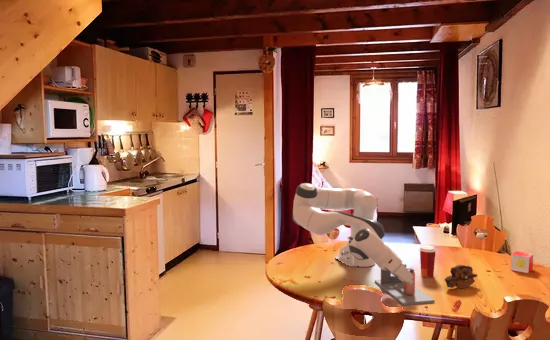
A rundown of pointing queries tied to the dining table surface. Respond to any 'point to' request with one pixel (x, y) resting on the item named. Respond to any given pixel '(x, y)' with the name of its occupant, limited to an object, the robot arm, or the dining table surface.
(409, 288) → the pink l-shaped bar
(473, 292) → the dining table surface
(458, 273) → the wooden carving
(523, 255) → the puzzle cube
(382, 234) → the robot arm
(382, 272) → the gray stand
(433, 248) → the paper cup
